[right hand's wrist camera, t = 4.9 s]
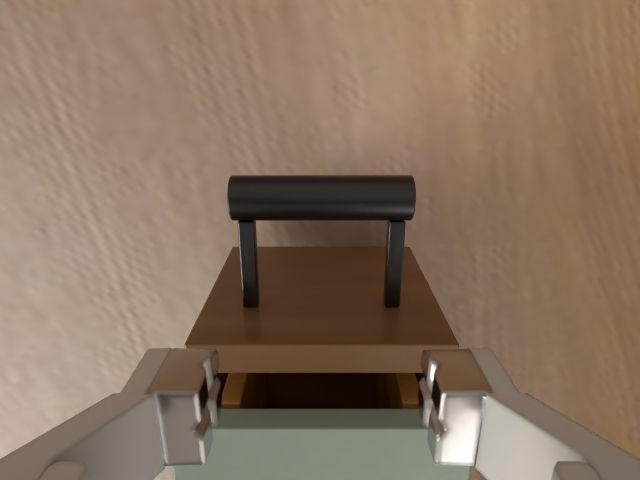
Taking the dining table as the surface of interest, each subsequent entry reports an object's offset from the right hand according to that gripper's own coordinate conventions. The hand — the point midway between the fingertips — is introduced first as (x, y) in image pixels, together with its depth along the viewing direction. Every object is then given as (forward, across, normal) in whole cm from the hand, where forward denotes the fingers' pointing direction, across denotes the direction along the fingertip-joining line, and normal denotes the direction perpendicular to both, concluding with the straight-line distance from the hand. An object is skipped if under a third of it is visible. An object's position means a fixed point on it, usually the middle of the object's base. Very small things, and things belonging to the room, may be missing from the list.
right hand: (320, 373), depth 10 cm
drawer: (+14, 0, -10) cm, 17 cm away
